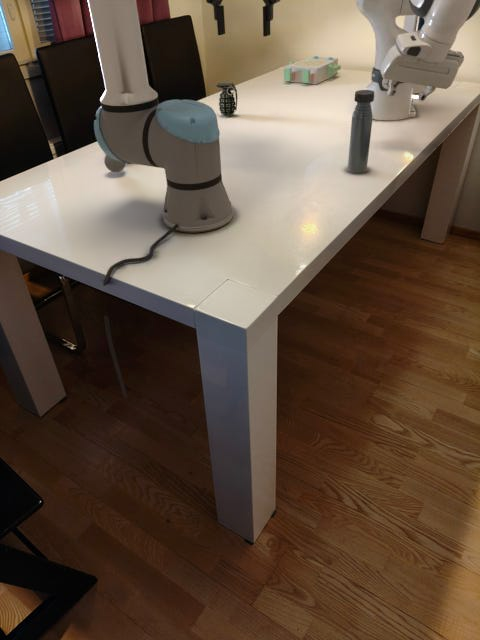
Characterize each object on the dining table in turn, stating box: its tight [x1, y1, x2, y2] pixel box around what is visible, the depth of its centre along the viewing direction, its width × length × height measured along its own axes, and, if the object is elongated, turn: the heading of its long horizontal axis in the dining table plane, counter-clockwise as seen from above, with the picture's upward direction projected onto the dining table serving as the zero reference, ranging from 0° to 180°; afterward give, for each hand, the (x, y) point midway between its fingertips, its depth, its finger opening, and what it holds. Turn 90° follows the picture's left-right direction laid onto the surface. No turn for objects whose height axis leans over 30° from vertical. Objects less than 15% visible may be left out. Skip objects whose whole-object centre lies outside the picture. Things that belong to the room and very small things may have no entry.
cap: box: [354, 89, 374, 103], centre depth 114 cm, size 4×4×2 cm
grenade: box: [215, 82, 238, 117], centre depth 166 cm, size 7×6×10 cm
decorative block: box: [283, 55, 342, 85], centre depth 206 cm, size 26×6×20 cm
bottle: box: [347, 102, 374, 175], centre depth 119 cm, size 5×5×18 cm
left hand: (243, 35), depth 129 cm, fingers open, 13 cm apart
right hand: (405, 97), depth 134 cm, fingers open, 8 cm apart
